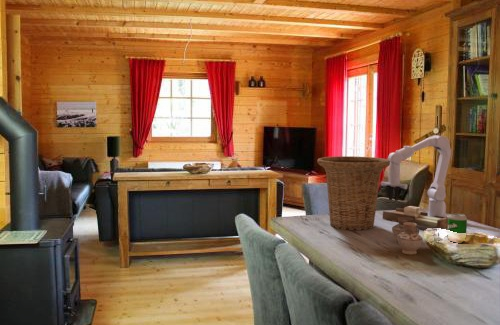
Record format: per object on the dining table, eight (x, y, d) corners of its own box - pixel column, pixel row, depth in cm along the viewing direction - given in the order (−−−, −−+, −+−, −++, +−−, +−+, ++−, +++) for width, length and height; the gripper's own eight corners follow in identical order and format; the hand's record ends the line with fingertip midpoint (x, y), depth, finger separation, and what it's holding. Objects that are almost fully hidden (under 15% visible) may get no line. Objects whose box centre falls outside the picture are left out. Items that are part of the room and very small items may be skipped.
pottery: (396, 255, 187) (397, 225, 186) (390, 239, 211) (391, 212, 210) (426, 257, 185) (427, 227, 184) (416, 240, 209) (417, 213, 208)
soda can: (462, 239, 210) (463, 213, 209) (468, 244, 203) (469, 216, 202) (444, 239, 211) (445, 212, 210) (450, 243, 204) (451, 216, 202)
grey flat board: (435, 218, 254) (435, 215, 254) (457, 222, 245) (457, 219, 245) (407, 226, 234) (407, 223, 234) (430, 231, 225) (430, 228, 225)
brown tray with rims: (397, 214, 263) (397, 206, 262) (454, 224, 240) (455, 215, 239) (381, 219, 252) (381, 210, 252) (440, 229, 229) (440, 220, 228)
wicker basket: (312, 231, 225) (313, 161, 221) (319, 216, 258) (320, 155, 255) (389, 236, 216) (392, 163, 213) (386, 219, 250) (388, 157, 247)
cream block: (409, 214, 252) (409, 206, 252) (420, 216, 248) (420, 207, 247) (403, 215, 248) (404, 207, 248) (414, 217, 244) (414, 209, 243)
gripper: (378, 174, 256) (377, 199, 258) (402, 177, 246) (401, 202, 247) (385, 173, 261) (384, 197, 262) (409, 175, 251) (408, 201, 252)
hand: (393, 200), depth 255 cm, fingers open, 3 cm apart
